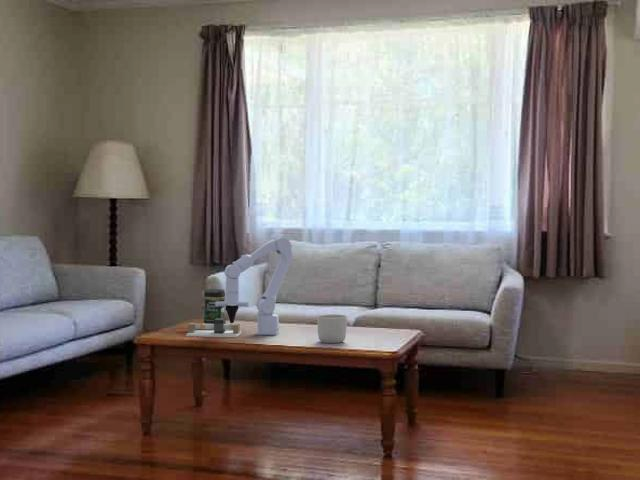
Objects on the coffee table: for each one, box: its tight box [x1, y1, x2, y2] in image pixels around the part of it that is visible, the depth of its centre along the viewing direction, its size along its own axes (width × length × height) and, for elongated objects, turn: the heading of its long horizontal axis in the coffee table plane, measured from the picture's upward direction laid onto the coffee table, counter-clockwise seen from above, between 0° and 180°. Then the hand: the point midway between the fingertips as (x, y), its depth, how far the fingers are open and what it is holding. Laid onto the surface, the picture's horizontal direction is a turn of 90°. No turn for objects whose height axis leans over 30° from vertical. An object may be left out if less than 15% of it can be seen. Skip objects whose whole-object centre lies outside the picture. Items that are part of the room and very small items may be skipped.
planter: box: [316, 313, 348, 344], centre depth 335 cm, size 12×12×11 cm
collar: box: [213, 317, 226, 333], centre depth 352 cm, size 4×5×6 cm
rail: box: [185, 322, 242, 338], centre depth 352 cm, size 22×12×5 cm, turn 85°
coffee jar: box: [203, 288, 226, 324], centre depth 371 cm, size 10×8×19 cm
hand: (231, 322), depth 352 cm, fingers closed
